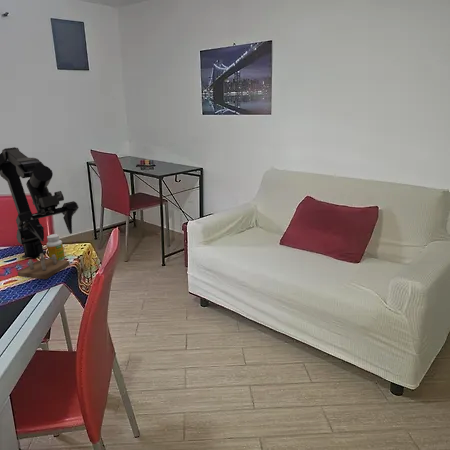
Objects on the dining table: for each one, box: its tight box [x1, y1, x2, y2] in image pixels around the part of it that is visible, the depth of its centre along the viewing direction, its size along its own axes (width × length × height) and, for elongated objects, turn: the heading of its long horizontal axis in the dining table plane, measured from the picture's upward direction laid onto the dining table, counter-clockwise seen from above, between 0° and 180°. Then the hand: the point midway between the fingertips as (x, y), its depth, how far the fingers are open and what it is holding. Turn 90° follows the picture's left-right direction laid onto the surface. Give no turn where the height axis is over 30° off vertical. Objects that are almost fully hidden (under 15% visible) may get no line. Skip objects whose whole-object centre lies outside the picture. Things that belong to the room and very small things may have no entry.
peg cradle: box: [17, 253, 71, 280], centre depth 143 cm, size 12×12×5 cm
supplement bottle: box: [46, 233, 66, 261], centre depth 151 cm, size 5×5×10 cm
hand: (57, 237), depth 131 cm, fingers open, 9 cm apart
